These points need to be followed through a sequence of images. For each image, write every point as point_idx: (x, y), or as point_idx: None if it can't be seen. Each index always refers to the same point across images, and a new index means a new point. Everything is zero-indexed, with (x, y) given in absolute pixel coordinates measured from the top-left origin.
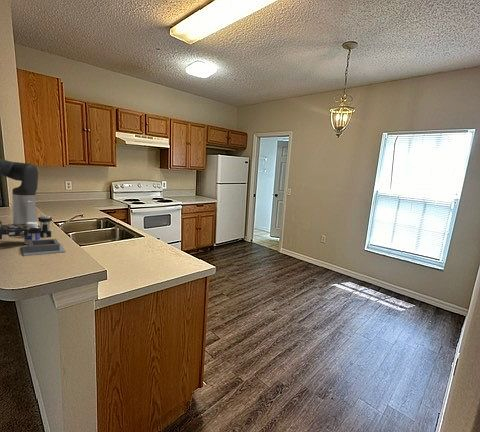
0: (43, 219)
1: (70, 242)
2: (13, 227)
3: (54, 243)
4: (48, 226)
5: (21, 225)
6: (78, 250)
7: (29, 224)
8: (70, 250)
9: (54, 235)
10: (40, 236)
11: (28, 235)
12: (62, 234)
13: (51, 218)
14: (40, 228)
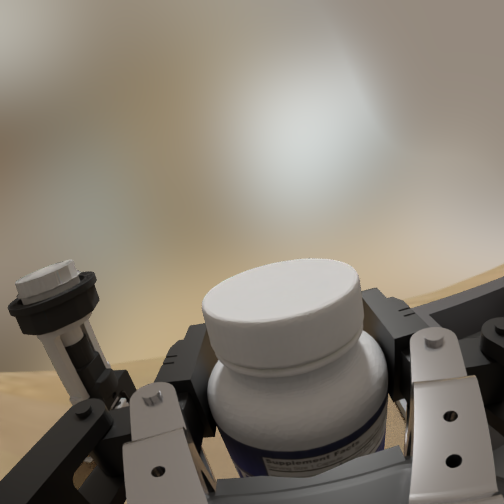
0: (79, 291)
1: None
2: (487, 496)
3: (480, 305)
4: (94, 344)
5: (190, 441)
6: (471, 280)
7: (359, 297)
8: None
9: None
10: None
11: (381, 437)
12: (117, 364)
13: (88, 272)
14: (374, 289)
